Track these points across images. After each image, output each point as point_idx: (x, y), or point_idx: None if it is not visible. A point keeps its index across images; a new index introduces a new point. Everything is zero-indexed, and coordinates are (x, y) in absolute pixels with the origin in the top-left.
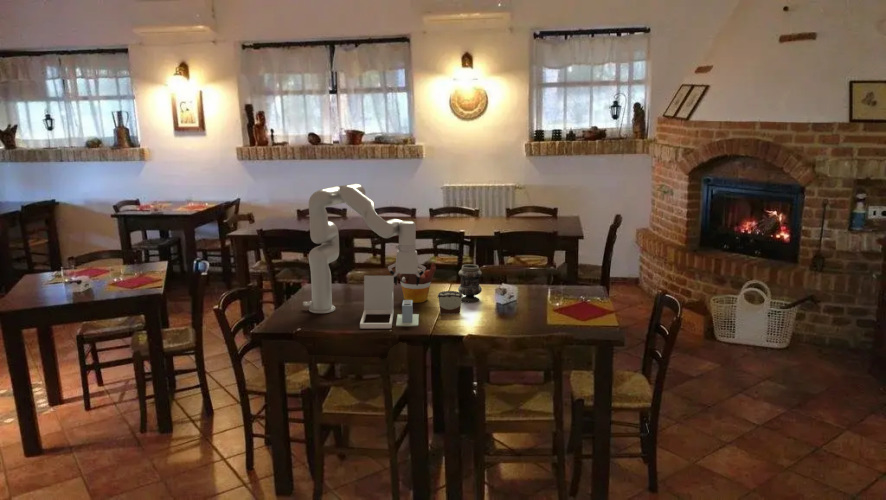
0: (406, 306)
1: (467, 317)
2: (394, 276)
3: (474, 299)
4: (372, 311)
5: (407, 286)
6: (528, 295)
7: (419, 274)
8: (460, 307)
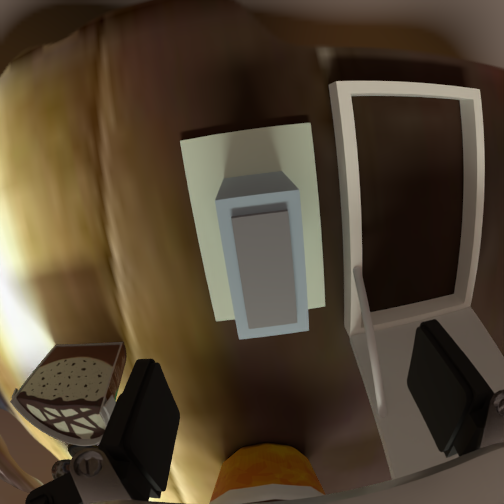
0: (261, 192)
1: (18, 307)
2: (499, 398)
3: (75, 451)
4: (438, 305)
5: (300, 491)
6: (5, 455)
7: (83, 489)
8: (41, 361)
